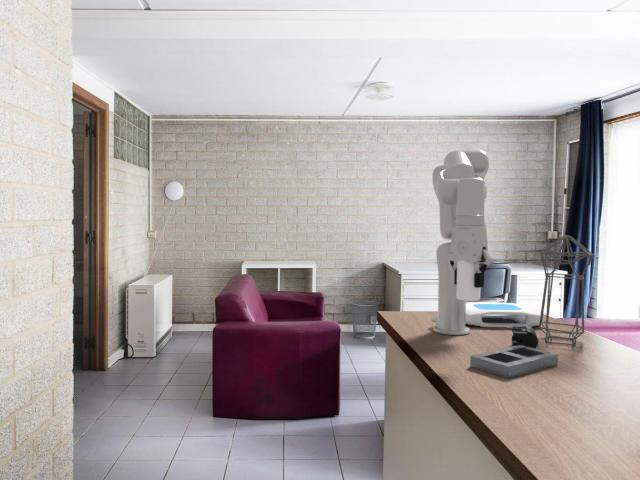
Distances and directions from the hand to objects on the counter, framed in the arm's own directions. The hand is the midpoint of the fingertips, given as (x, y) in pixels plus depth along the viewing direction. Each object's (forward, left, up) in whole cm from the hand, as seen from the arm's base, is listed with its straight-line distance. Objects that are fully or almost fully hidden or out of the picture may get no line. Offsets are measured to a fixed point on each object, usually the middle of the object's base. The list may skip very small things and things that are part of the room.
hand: (468, 285), depth 144 cm
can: (0, 0, -4) cm, 4 cm away
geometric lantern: (+3, +44, -22) cm, 50 cm away
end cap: (+2, +24, -22) cm, 33 cm away
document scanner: (-29, +52, -22) cm, 64 cm away
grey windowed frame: (+11, +6, -21) cm, 25 cm away
